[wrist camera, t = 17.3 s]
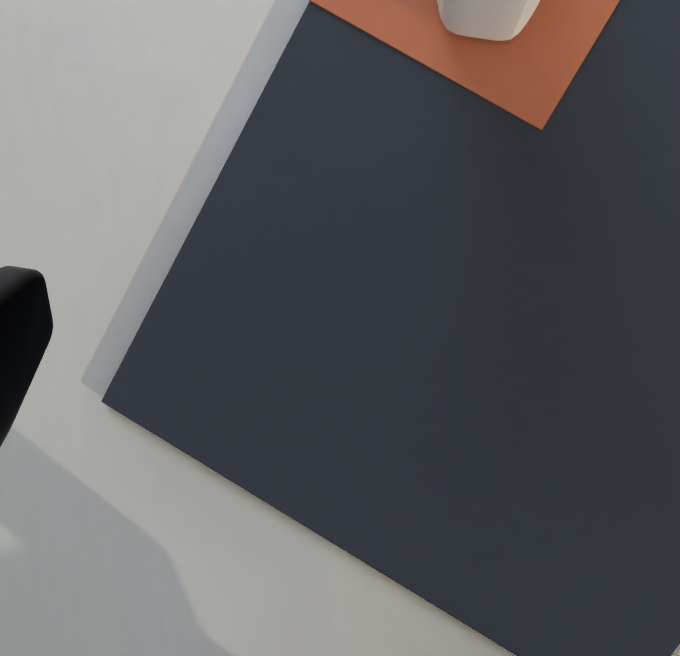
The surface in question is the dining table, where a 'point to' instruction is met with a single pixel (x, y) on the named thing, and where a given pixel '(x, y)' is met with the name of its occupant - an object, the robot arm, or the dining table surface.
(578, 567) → the desk mat
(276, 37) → the dining table surface
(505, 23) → the eye dropper bottle
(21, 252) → the dining table surface
